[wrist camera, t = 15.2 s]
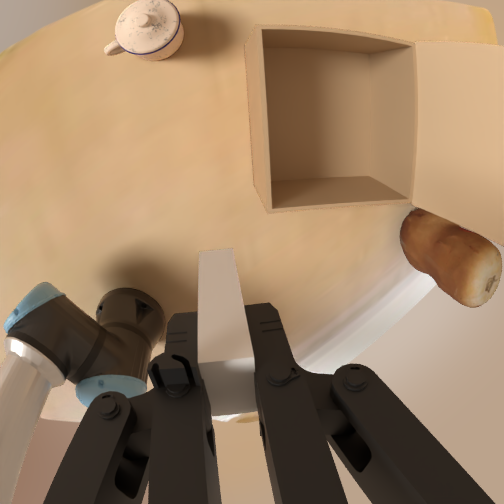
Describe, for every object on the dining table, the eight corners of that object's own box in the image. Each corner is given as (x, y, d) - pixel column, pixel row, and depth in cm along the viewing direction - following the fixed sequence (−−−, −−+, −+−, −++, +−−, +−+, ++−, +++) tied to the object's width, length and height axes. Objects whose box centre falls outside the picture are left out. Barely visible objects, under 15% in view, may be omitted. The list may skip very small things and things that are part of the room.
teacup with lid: (175, 5, 35) (165, -20, 25) (193, 48, 39) (187, 32, 29) (107, 36, 36) (80, 21, 25) (124, 79, 40) (100, 74, 30)
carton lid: (411, 204, 41) (414, 203, 41) (539, 265, 23) (540, 263, 23) (415, 41, 29) (418, 42, 29) (563, 58, 11) (563, 59, 12)
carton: (370, 178, 53) (411, 202, 40) (253, 185, 51) (267, 213, 39) (369, 52, 42) (415, 43, 29) (244, 46, 40) (255, 24, 28)
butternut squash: (445, 212, 58) (522, 267, 36) (417, 261, 63) (482, 328, 41) (407, 186, 54) (494, 240, 32) (376, 242, 59) (446, 316, 37)
